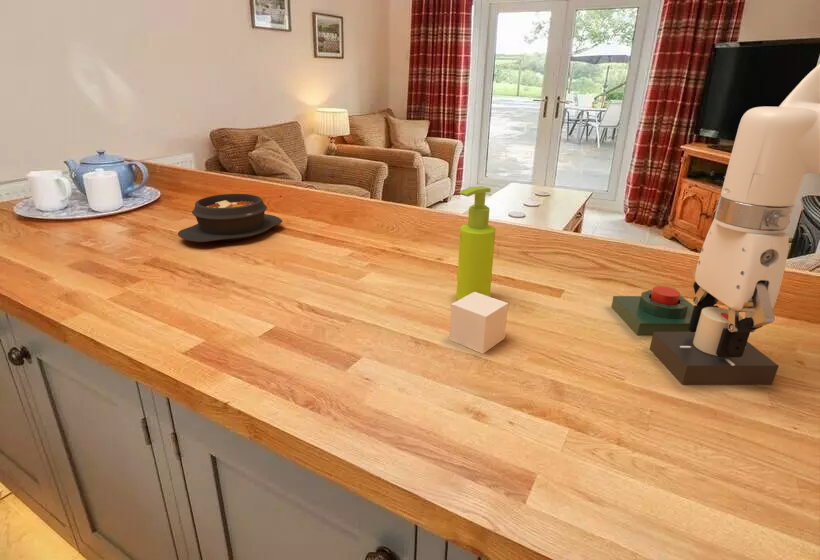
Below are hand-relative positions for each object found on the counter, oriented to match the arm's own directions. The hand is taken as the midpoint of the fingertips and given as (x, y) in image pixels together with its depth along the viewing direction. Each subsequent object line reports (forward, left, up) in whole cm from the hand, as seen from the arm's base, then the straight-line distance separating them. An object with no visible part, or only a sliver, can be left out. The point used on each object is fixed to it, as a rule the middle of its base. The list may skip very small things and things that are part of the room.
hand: (713, 342), depth 67 cm
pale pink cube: (+31, -8, -4) cm, 32 cm away
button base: (0, -14, -4) cm, 14 cm away
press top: (0, -14, 0) cm, 14 cm away
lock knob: (0, 0, -1) cm, 1 cm away
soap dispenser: (+30, -22, -4) cm, 37 cm away
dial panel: (0, 0, -4) cm, 4 cm away
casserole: (+83, -59, -4) cm, 102 cm away
